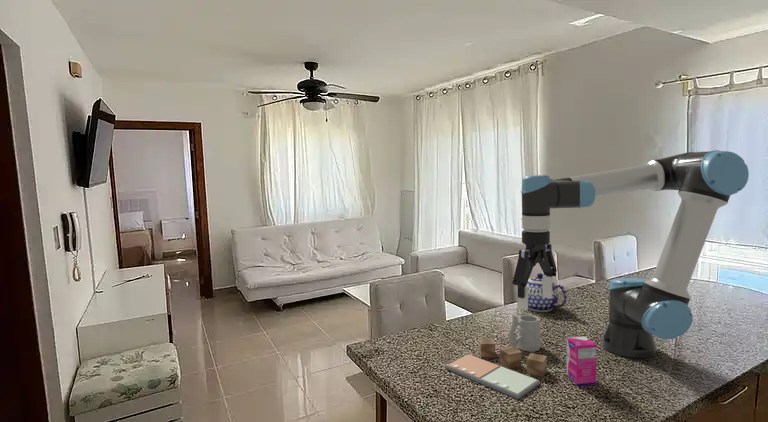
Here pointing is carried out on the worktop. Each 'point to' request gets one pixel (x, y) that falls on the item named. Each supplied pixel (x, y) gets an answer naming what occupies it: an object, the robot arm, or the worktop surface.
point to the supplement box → (581, 360)
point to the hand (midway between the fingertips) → (535, 303)
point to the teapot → (536, 295)
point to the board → (493, 376)
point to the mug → (525, 333)
